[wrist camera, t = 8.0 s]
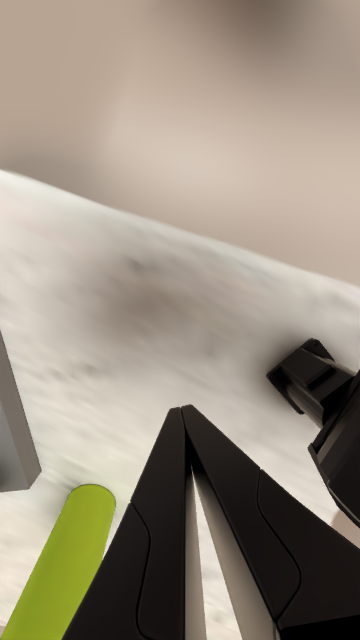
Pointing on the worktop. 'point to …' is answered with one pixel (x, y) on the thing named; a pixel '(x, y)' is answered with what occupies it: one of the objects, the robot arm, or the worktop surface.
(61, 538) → the soap dispenser
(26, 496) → the worktop surface
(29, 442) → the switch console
